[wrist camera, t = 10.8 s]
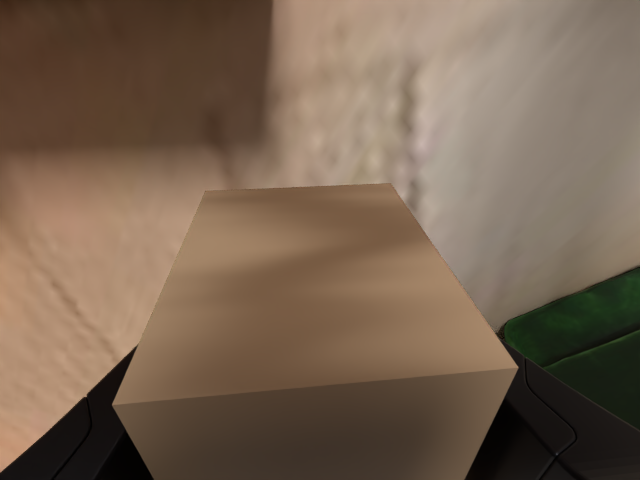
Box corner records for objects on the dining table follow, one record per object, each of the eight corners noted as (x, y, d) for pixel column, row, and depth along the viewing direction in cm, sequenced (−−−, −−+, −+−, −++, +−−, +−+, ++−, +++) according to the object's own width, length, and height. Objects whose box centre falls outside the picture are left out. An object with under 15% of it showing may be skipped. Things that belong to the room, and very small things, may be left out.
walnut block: (390, 183, 9) (518, 367, 4) (375, 314, 12) (443, 522, 7) (205, 191, 9) (112, 404, 4) (232, 325, 12) (196, 554, 7)
